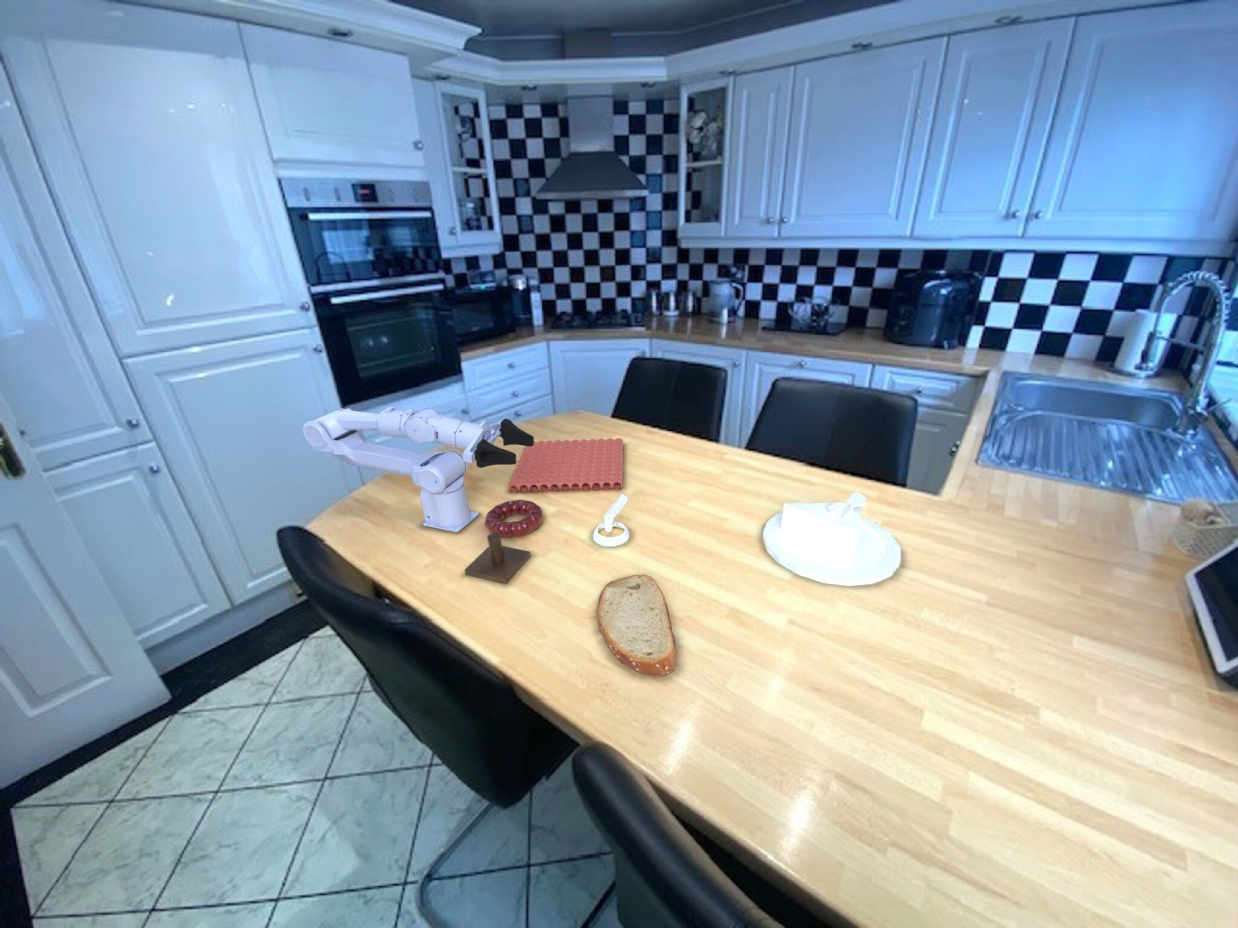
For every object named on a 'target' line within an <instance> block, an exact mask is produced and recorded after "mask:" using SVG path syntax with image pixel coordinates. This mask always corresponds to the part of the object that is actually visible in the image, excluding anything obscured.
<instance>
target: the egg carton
mask: <svg viewBox="0 0 1238 928" xmlns="http://www.w3.org/2000/svg"><path fill="white" fill-rule="evenodd" d="M515 467H516V468H515V469H514V470H513V471H514V472H513V473H512V476H511V477H510V481H509V482H508V485H507V488H508V489H507V490H508V492H510V493H513V494H515V493H517V492H519V491H520V492H521V493H523V494H525V493H527V492H528V491H531V493H537V492H538V491H541V492H542V493H547V492H548V491H552V492H558V491H560V490H561V491H562V492H568V491H569V490H572V491H573V492H577V491H579V490H583V491H585V492H586V491H589V490H591V489H592V490H594V491H598V490H600V489H603V490H604V491H608V490H610V489H614V490H617V491H618V490H620V489H622V488H623V484H624V483H623V481H624V480H623V478H624V477H623V475H624V474H623V473H624V470H623V469H624V439H623V438H620V437H617V438H615V439H613V438H611V437H609V438H607V439H604V438H599V439H595V438H591V439H589V440H587V439H585V438H584V439H581V440H578V439H573V440H568V439H565V440H560V439H556V440H555V441H552V440H547V441H543V440H539V441H534V445H533V446H524V449H523V451H522V453H521V456H520V457H519V460H518V462H517V465H516V466H515Z"/></svg>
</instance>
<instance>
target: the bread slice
mask: <svg viewBox="0 0 1238 928" xmlns="http://www.w3.org/2000/svg"><path fill="white" fill-rule="evenodd" d="M596 606H597V608H596V609H597V610H596V611H597V623H598V628H599V631H600V632H601V634H602V635H603V637H604V641H605V644H606V645H607V647H608V649H609V651H610V652H611V653H612V654H613V655H614V656H615V657H616V659H618V660H619V661H620V662H621V663H622V664H624V665H626V666H627V667H628V668H631V669H633V670H634V671H636V672H640V673H643V674H646V675H651V676H661V677H663V676H664V675H667V674H668V675H669V674H670V673H672V672H673V671H675V669H676V667H677V648H676V647H677V646H676V641H675V635H674V632H673V628H672V622H671V619H670V618H671V617H670V613H669V608H668V605H667V602H666V598H665V595H664V593H663V592H662V590H661V589H660V587H659V584H658V583H657V582H656V580H655V579H654V578H653V577H652V576H650V575H648V574H633V575H630V576H626V577H623V578H619V579H615V580H611V581H610V582H608V583H607V584H606V585H605V586H604V588H602V590H601V592H600V594H599V597H598V602H597V605H596Z"/></svg>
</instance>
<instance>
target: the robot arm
mask: <svg viewBox="0 0 1238 928" xmlns="http://www.w3.org/2000/svg"><path fill="white" fill-rule="evenodd" d="M363 431H378V432H379V433H380V434H381V435H382V436H384V437H389V438H391V437H392V438H403V439H404V438H405V439H411V441H414V442H415V444H416V445H423V444H425V443H426V442H429V443H437V444H440V445H443V446H444V445H445V446H448V447H452V448H457V449H459V450H464V451H463V452H460V451H458V450H457V449H448V450H445V451H443V450H435V451H434V450H433V451H429V452H424V453H422V452H417V451H411V450H407V449H402V448H395V447H390V446H386V445H380V444H374V443H371V442H370V443H369V442H366V440H367V438H366V436H365V434H364V432H363ZM302 432H303V436H304V438H305V440H306V441H307V443H308V444H309V445H310V447H312V448H313V450H314V451H315V452H319V453H324V454H328V455H331V456H333V457H335V458H336V459H338V460H341V461H342V462H344V463H346V464H348V465H351V466H356V467H360V468H366V469H371V470H375V471H379V472H380V471H381V472H384V473H385V472H386V473H390V474H394V475H400V476H405V477H410V478H411V479H412V481H413V484H414V486H415V487H419V488H421V490H420V494H419V500H420V505H421V509H422V513H423V517H424V522H423V523H422V525H423V527H429V528H434V529H439V530H444V531H448V532H453V533H459V532H460V531H462V530H463V529H464V528H465V527H466V526H467V525H469V524H470V523H471V522H472V521H473V520H474V519H475V518H477V517H478V516H479V512H478V511H472V510H470V507H469V501H468V497H467V491H466V485H465V482H464V481H465V479H466V478H465V474H466V473H467V471H468V469H469V464H473V463H476V467H477V468H479V469H483V468H486V467H491V466H504V465H505V466H507V465H508V466H509V465H510V466H511V465H512V466H513V465H515V466H516V464H517V453H515V452H513V451H511V450H508V449H504V448H502V447H499V446H497V445H495V443H496V441H497V440H498V438H499V437H500V438H501V439H502V445H503V447H505V446H506V447H507V446H522V447H525V446H533V445H534V442H535V436H533V435H532V434H530V433H528V432H527V431H524V430H523V429H521V428H520V427H518V426H517V425H516V424H515V423H514V422H513V421H512V420H510V419H509V418H503V420H499V421H497V422H494V423H488V421H486V420H482V421H481V422H480V423H474V422H471V421H468V420H463V419H459V418H455V417H450V416H446V415H443V414H442V413H441V412H440V411H439V410H438V409H436V408H433V407H430V406H425V407H423V408H422V409H420V410H418V411H417V410H415V409H414V408H408V409H407V410H405V409H396V407H395V406H388V407H386V408H385V409H383V410H382V411H381V412H380V413H374V412H367V411H359V410H353V409H352V408H349V407H348V408H338V409H336V410H334V411H332V412H330V413H328V414H326V415H323V416H321V417H319V418H316V419H313V420H309V421H307V422H306V423H304V425H303V427H302ZM475 461H476V462H475ZM468 463H469V464H468Z"/></svg>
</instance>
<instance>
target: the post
mask: <svg viewBox="0 0 1238 928" xmlns="http://www.w3.org/2000/svg"><path fill="white" fill-rule="evenodd" d="M487 542H488V547H486V548H485V550H484V551H483V552H481V553H480V554H479V555H478V556H477V557H476V558H475V559H474V560H473V561H472V562H471V563H469V565H468V566H467V567H465V569H464V574H465V575H466V576H470V577H474V578H478V579H482V580H486V581H490V582H494V583H499V584H504V585H507V584H508V583H509V582H510V581H511V580H512V579H513V577H514V576H515V575H516V574H517V573H518V572H519V571H520V569H522V567H524V565H525V564H526V563H527V562H528V561H529V559H530V558H531V557H532V553H531V551H529V550H524V549H520V548H515V547H509V546H506V545H503V543H502V537H501V535H500V534H499V533H490V534H488V536H487Z"/></svg>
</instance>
